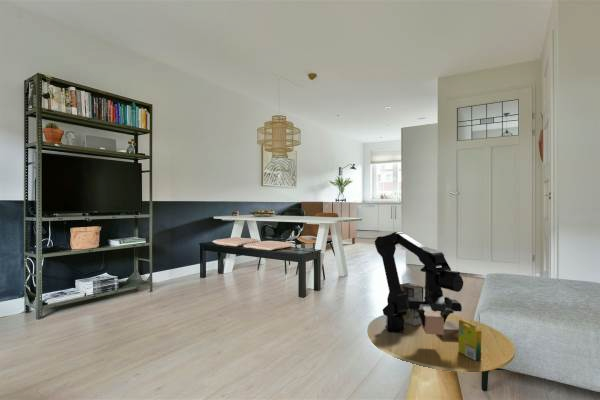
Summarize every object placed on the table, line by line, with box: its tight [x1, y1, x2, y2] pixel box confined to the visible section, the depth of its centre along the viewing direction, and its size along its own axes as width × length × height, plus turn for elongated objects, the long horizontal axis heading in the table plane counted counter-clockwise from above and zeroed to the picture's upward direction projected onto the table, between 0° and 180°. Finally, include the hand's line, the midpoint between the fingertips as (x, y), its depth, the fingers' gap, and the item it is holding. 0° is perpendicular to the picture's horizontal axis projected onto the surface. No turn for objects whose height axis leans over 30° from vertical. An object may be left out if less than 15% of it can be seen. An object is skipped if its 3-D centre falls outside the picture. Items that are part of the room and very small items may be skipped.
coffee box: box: [400, 282, 425, 326], centre depth 152 cm, size 9×6×16 cm
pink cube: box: [421, 311, 444, 336], centre depth 126 cm, size 6×6×6 cm
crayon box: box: [458, 319, 482, 361], centre depth 119 cm, size 7×3×12 cm, turn 21°
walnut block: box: [440, 320, 459, 340], centre depth 138 cm, size 9×9×4 cm
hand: (432, 327), depth 126 cm, fingers closed on pink cube, 6 cm apart
